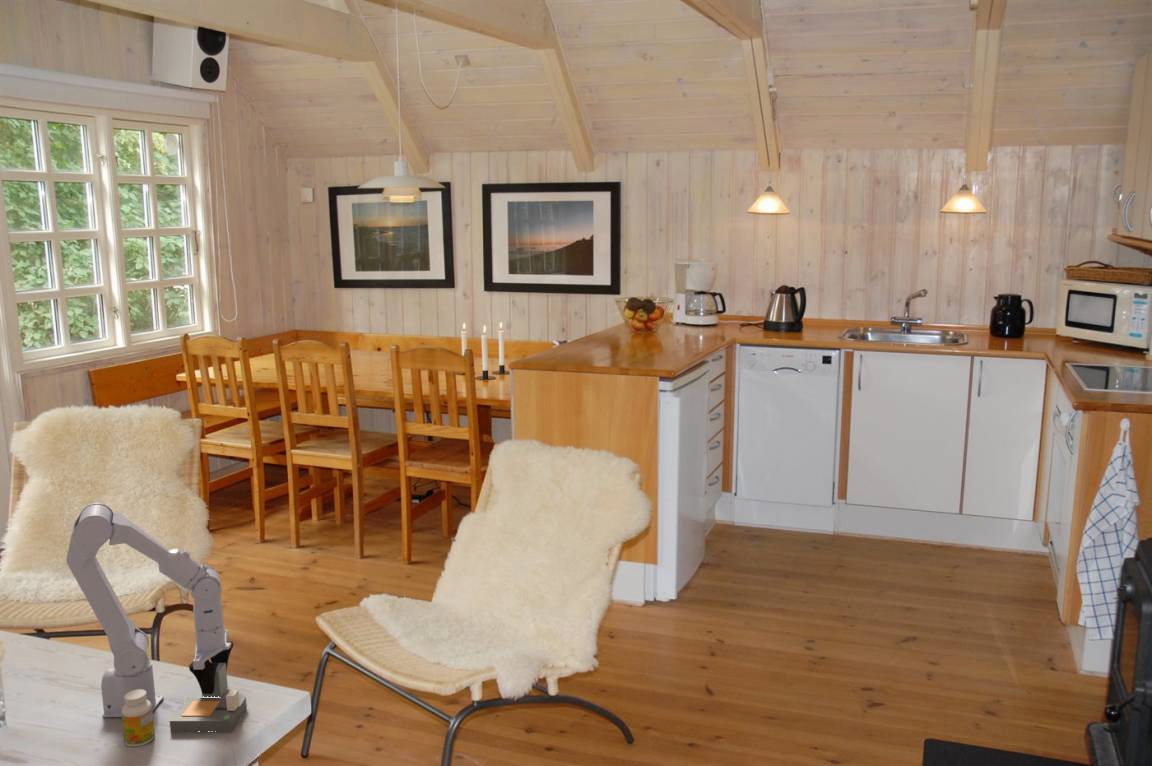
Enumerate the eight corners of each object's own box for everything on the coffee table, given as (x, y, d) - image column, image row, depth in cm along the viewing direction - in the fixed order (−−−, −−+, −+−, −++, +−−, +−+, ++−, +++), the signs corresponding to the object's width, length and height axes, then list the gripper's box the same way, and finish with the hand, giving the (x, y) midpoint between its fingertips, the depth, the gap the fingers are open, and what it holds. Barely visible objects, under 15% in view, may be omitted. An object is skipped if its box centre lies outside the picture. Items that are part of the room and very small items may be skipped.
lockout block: (202, 698, 203) (199, 672, 202) (209, 688, 207) (207, 663, 206) (221, 698, 203) (218, 671, 202) (227, 688, 207) (225, 662, 206)
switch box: (170, 732, 190) (169, 719, 189) (188, 708, 199) (187, 696, 198) (230, 732, 190) (229, 719, 189) (246, 708, 199) (245, 696, 198)
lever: (227, 710, 192) (225, 696, 192) (231, 704, 195) (230, 690, 194) (235, 710, 192) (233, 696, 192) (239, 704, 195) (238, 690, 194)
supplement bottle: (118, 743, 186) (113, 697, 184) (142, 729, 191) (137, 684, 189) (137, 750, 184) (132, 703, 182) (160, 736, 188) (156, 691, 187)
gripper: (215, 640, 195) (220, 702, 197) (240, 610, 209) (244, 668, 212) (180, 641, 195) (186, 702, 198) (208, 611, 209) (213, 668, 212)
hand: (214, 684), depth 205 cm, fingers open, 6 cm apart
